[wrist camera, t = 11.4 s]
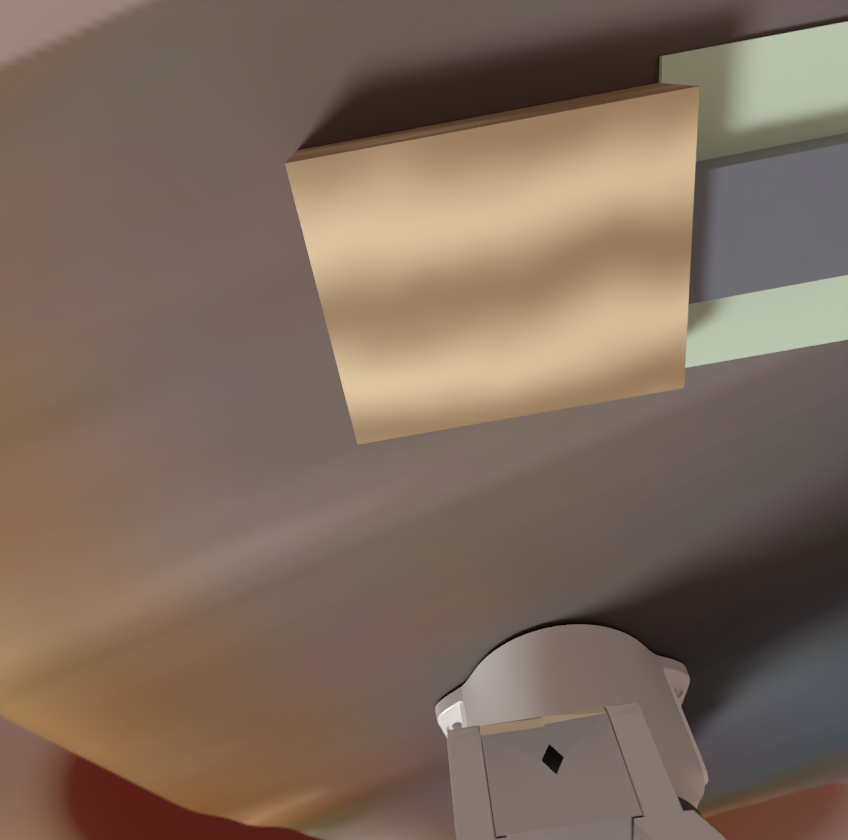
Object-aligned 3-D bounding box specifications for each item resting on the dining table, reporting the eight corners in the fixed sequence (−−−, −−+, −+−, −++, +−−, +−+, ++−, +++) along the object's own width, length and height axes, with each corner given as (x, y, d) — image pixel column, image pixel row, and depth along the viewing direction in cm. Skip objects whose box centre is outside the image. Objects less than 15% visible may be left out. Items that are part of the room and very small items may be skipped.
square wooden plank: (652, 354, 34) (684, 387, 30) (359, 405, 34) (357, 444, 31) (658, 82, 27) (699, 86, 24) (296, 150, 28) (284, 163, 24)
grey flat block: (836, 260, 31) (863, 271, 30) (657, 293, 32) (673, 306, 30) (858, 130, 28) (889, 135, 27) (659, 168, 29) (677, 175, 27)
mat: (892, 328, 34) (896, 330, 34) (652, 370, 34) (654, 372, 34) (968, -2, 26) (973, -3, 26) (659, 56, 27) (662, 56, 26)
